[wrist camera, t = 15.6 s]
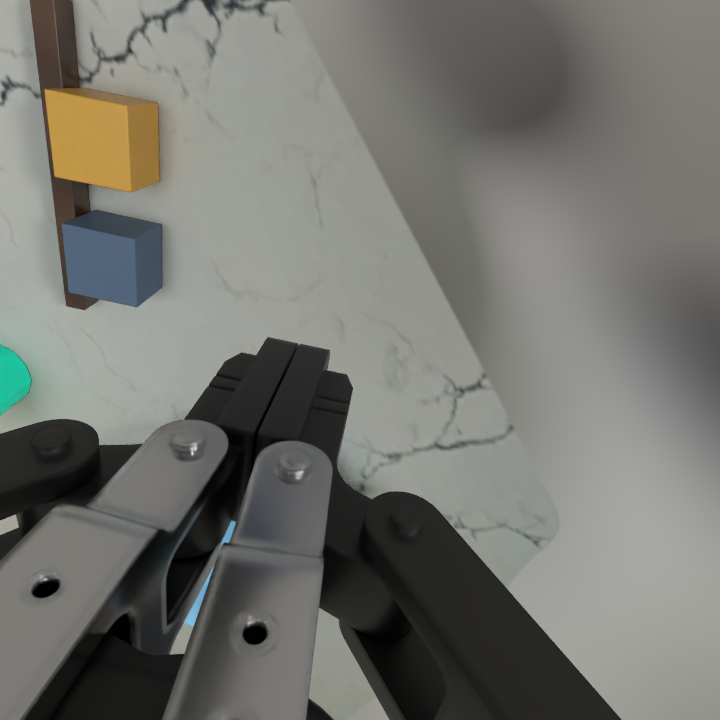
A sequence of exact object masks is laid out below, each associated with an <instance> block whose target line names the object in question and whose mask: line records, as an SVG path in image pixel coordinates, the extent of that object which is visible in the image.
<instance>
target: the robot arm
mask: <svg viewBox="0 0 720 720" xmlns="http://www.w3.org/2000/svg"><path fill="white" fill-rule="evenodd" d="M329 357H330V350H327V349H322V348H317V347H313V346H308V345H303V344H300V345H298V343H293V342H289V341H284V340H279V339H275V338H270V337H268V338H267V339H266V340H265V342H264V344H263V345H262V347H261V349H260V350H259V352H258V354H257V355H251V354H246V353H240V354H238V355H236V356H234V357H232V358H231V359H229V360H227V361H225V363H224V364H223V365H222V367H221V368H220V370H219V371H218V372H217V375H216V376H215V377H214V378H213V380H212V381H211V382H210V384H209V387H207V388H206V389H205V391H204V392H203V394H202V395H201V397H200V398H199V399H198V401H197V402H196V404H195V405H194V406H193V408H192V409H191V411H190V412H189V414H188V415H187V416H186V418H185V419H184V420H179V421H175V422H171V423H168V424H166V425H164V426H162V427H160V428H159V429H157V430H156V431H155V432H154V433H152V435H151V436H150V437H149V438H148V439H147V440H146V441H145V442H144V443H143V444H136V445H99V438H98V434H97V432H96V431H95V430H94V429H93V428H92V427H91V426H89V425H88V424H86V423H83V422H80V421H76V420H70V419H56V420H48V421H43V422H39V423H35V424H32V425H29V426H25V427H22V428H19V429H15V430H12V431H9V432H5V433H2V434H0V520H2V519H5V518H7V517H10V516H12V515H15V514H16V516H17V521H18V525H19V528H17V529H14V530H12V531H10V532H7V533H5V534H2V535H0V720H334V719H333V718H331V717H330V716H329V715H328V714H327V713H326V712H325V711H324V710H323V709H322V708H321V707H320V706H318V705H317V704H316V703H315V702H313V701H312V700H311V699H309V689H310V680H311V672H312V663H313V655H314V646H315V637H316V629H317V620H318V612H319V608H321V609H323V610H324V611H326V612H328V613H329V614H331V615H333V616H334V617H336V618H338V619H339V626H340V630H341V633H342V635H343V637H344V639H345V641H346V643H347V644H348V646H349V648H350V650H351V652H352V653H353V655H354V657H355V659H356V660H357V662H358V664H359V666H360V668H361V669H362V671H363V673H364V675H365V677H366V678H367V680H368V682H369V684H370V685H371V687H372V689H373V691H374V693H375V694H376V696H377V698H378V700H379V702H380V703H381V705H382V707H383V708H384V710H385V712H386V714H387V716H388V718H389V719H390V720H621V719H620V717H619V716H618V715H617V714H616V713H615V712H614V711H613V709H612V708H611V707H610V706H609V705H608V704H607V703H606V702H605V700H604V699H603V698H602V697H601V696H600V695H599V694H598V692H597V691H596V690H595V689H594V688H593V687H592V685H591V684H590V683H589V682H588V681H587V680H586V679H585V677H584V676H583V675H582V674H581V673H580V672H579V671H578V670H577V668H576V667H575V666H574V665H573V664H572V663H571V662H570V660H569V659H568V658H567V657H566V656H565V655H564V654H563V652H562V651H561V650H560V649H559V648H558V647H557V646H556V644H555V643H554V642H553V641H552V640H551V639H550V638H549V636H548V635H547V634H546V633H545V632H544V631H543V630H542V628H541V627H540V626H539V625H538V624H537V623H536V622H535V620H534V619H533V618H532V617H531V616H530V615H529V614H528V612H527V611H526V610H525V609H524V608H523V607H522V606H521V604H519V602H518V601H517V600H516V599H515V598H514V597H513V595H512V594H511V593H510V592H509V591H508V590H507V588H506V587H505V586H504V585H503V584H502V583H501V582H500V581H499V579H498V578H497V577H496V576H495V575H494V574H493V573H492V571H491V570H490V569H489V568H488V567H487V566H486V565H485V563H484V562H483V561H482V560H481V559H480V558H479V557H478V555H477V554H476V553H475V552H474V551H473V550H472V549H471V547H470V546H469V545H468V544H467V543H466V542H465V541H464V539H463V538H462V537H461V536H460V535H459V534H458V533H457V531H456V530H455V529H454V528H453V527H452V526H451V525H450V523H449V522H448V521H447V520H446V519H445V518H444V517H443V515H442V514H441V513H440V512H439V511H438V510H437V509H436V508H435V507H434V506H433V505H432V504H431V503H429V502H428V501H426V500H425V499H423V498H421V497H419V496H417V495H414V494H410V493H406V492H396V491H395V492H387V493H383V494H381V495H379V496H377V497H375V498H374V499H373V500H372V499H370V498H368V497H366V496H364V495H362V494H360V493H358V492H357V491H355V490H354V489H352V488H351V487H350V486H349V485H347V484H346V483H345V481H344V480H343V479H342V478H341V476H340V474H339V472H338V469H337V461H338V457H339V452H340V448H341V443H342V439H343V434H344V429H345V424H346V420H347V415H348V410H349V405H350V400H351V395H352V390H353V387H352V385H351V383H350V381H349V378H348V376H347V375H346V374H341V373H336V372H332V371H327V369H328V363H329ZM231 521H235V522H236V523H235V526H234V530H233V533H232V536H231V539H230V541H229V543H226V542H224V543H223V545H222V539H223V538H224V536H225V534H226V531H227V529H228V527H229V524H230V522H231ZM213 567H214V568H213ZM212 568H213V571H212V574H211V577H210V580H209V583H208V586H207V589H206V591H205V594H204V597H203V600H202V603H201V606H200V609H199V612H198V615H197V618H196V621H195V624H194V627H193V630H192V633H191V636H190V639H189V642H188V645H187V648H186V651H185V654H174V655H169V654H170V651H171V648H172V646H173V643H174V641H175V639H176V636H177V634H178V632H179V631H180V629H181V627H182V625H183V623H184V621H185V619H186V617H187V616H188V614H189V612H190V610H191V608H192V606H193V604H194V602H195V600H196V599H197V597H198V595H199V593H200V591H201V589H202V587H203V585H204V584H205V582H206V580H207V578H208V576H209V574H210V572H211V570H212Z"/></svg>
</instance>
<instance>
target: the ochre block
mask: <svg viewBox="0 0 720 720" xmlns="http://www.w3.org/2000/svg"><path fill="white" fill-rule="evenodd" d="M44 91H45V100H46V108H47V117H48V125H49V133H50V142H51V150H52V159H53V167H54V176H55V177H58V178H63V179H68V180H72V181H77V182H82V183H87V184H92V185H97V186H102V187H107V188H111V189H116V190H121V191H126V192H134V191H136V190H139V189H141V188H144V187H147V186H149V185H152V184H154V183H157V182H159V131H158V103H156V102H151V101H146V100H141V99H136V98H131V97H126V96H122V95H117V94H112V93H107V92H102V91H97V90H92V89H87V88H58V89H45V90H44Z"/></svg>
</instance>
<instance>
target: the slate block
mask: <svg viewBox="0 0 720 720" xmlns="http://www.w3.org/2000/svg"><path fill="white" fill-rule="evenodd" d="M62 233H63V243H64V252H65V261H66V271H67V280H68V290H69V292H70V293H74V294H79V295H83V296H88V297H92V298H97V299H101V300H106V301H111V302H115V303H120V304H124V305H129V306H133V307H138V306H139V305H141V304H142V303H143V302H144V301H146V300H147V299H148V298H149V297H151V296H152V295H153V294H154V293H156V292H157V291H158V290H160V289H161V288H162V225H161V224H157V223H153V222H148V221H144V220H139V219H134V218H130V217H125V216H121V215H116V214H112V213H107V212H102V211H98V210H94V211H91V212H89V213H86V214H84V215H81V216H79V217H76V218H74V219H71V220H69V221H66V222H64V223H62Z"/></svg>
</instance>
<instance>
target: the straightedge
mask: <svg viewBox="0 0 720 720" xmlns="http://www.w3.org/2000/svg"><path fill="white" fill-rule="evenodd" d="M30 6H31V14H32V23H33V31H34V40H35V48H36V56H37V65H38V73H39V82H40V90H41V98H42V107H43V115H44V124H45V132H46V140H47V149H48V157H49V166H50V174H51V182H52V191H53V199H54V208H55V216H56V224H57V233H58V241H59V250H60V258H61V266H62V275H63V283H64V292H65V300H66V306H68V307H73V308H77V309H82V310H86V309H87V308H89V307H90V306H92V305H93V304H94V303H96V302H97V301H98V300H97V298H92V297H88V296H83V295H79V294H74V293H70V292H69V290H68V280H67V271H66V261H65V252H64V243H63V233H62V223H64V222H66V221H69V220H71V219H74V218H76V217H79V216H81V215H84V214H86V213H89V212H90V206H89V195H88V184H87V183H82V182H77V181H72V180H68V179H63V178H58V177H55V176H54V167H53V159H52V150H51V142H50V133H49V125H48V117H47V108H46V100H45V91H44V90H45V89H58V88H79V77H78V66H77V54H76V42H75V30H74V19H73V7H72V1H71V0H30Z"/></svg>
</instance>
